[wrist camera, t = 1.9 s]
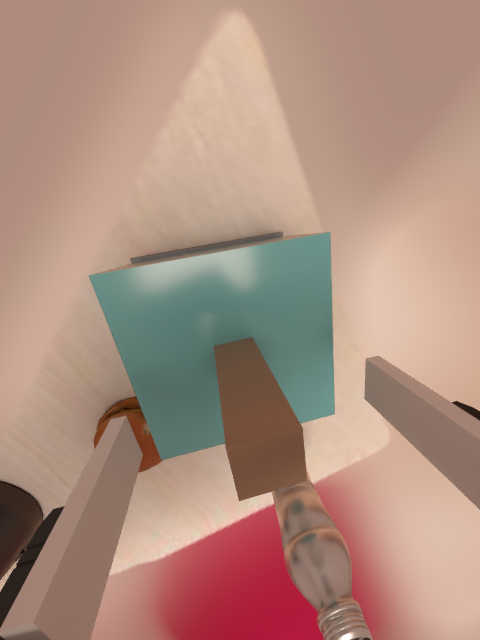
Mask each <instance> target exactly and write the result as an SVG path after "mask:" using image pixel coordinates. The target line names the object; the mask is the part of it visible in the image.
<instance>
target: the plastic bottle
mask: <svg viewBox="0 0 480 640" xmlns="http://www.w3.org/2000/svg"><path fill="white" fill-rule="evenodd" d="M306 473H307V481H305V482H302V483H299V484H295V485H292V486H288V487H285V488H282V489H278V490H275V491H271V492H272V495H273V499H274V503H275V506H276V511H277V516H278V520H279V525H280V531H281V538H282V544H283V550H284V557H285V561H286V566H287V570H288V572H289V575H290V576H291V579H292V581H293V582H294V584H295V585H296V586H297V588H298V589H299V590H300V592H301V593H302V594H303V596H304V597H305V598H306V599H307V600H308V601H309V602H310V603H311V604H312V605H313V606H314V607H315V609H316V610H317V612H318V614H319V616H318V618H317V622H318V626H319V629H320V631H321V632H322V634H323V637H324V640H373V639H372V637H371V634H370V631H369V629H368V627H367V625H366V622H365V620H364V618H363V615H362V610H361V608H360V606H359V604H358V602H356V601H354V600H353V597H352V570H351V558H350V555H349V551H348V547H347V545H346V543H345V541H344V539H343V537H342V535H341V533H340V532H339V531H338V529H337V527H336V525H335V524H334V522H333V520H332V519H331V517H330V515H329V514H328V512H327V510H326V509H325V507H324V506H323V504H322V502H321V500H320V498H319V496H318V494H317V492H316V491H315V488H314V486H313V484H312V482H311V480H310V477H309V474H308V472H307V469H306Z"/></svg>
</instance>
